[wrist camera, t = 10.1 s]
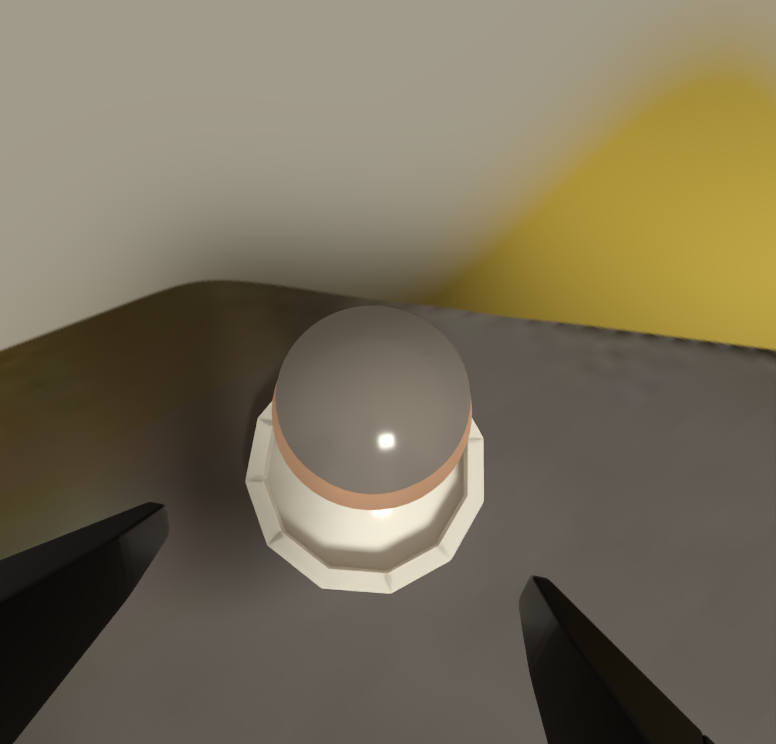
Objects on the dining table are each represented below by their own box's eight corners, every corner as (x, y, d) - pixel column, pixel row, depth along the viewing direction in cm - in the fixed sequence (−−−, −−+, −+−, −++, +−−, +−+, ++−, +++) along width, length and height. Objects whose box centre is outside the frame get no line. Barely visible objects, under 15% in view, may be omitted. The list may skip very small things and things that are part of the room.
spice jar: (427, 473, 20) (530, 421, 7) (355, 525, 19) (339, 565, 6) (379, 405, 21) (401, 260, 8) (309, 451, 20) (218, 361, 7)
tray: (512, 435, 21) (523, 431, 20) (397, 639, 18) (400, 650, 16) (345, 325, 23) (344, 314, 21) (209, 491, 19) (197, 490, 18)
